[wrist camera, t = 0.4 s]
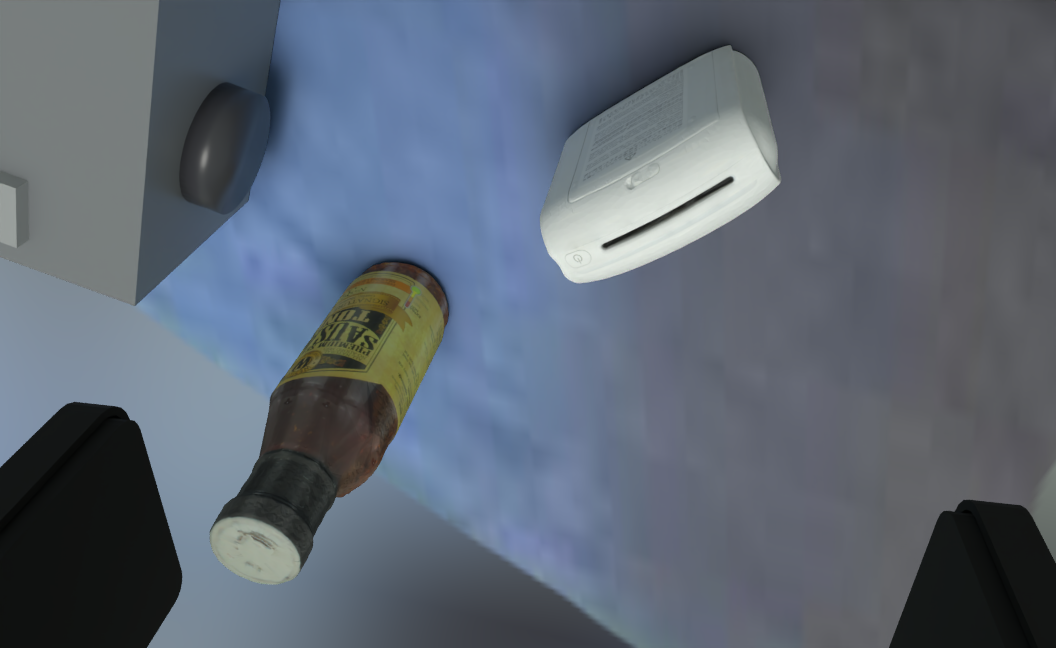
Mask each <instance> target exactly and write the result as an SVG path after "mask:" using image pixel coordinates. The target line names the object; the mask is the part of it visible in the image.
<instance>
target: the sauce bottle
mask: <svg viewBox="0 0 1056 648" xmlns="http://www.w3.org/2000/svg"><path fill="white" fill-rule="evenodd" d="M448 316H449V313H448V304H447V301H446V297H445V294H444V292H443V291H442V289H441V287H440V285H439V284H438V283H437V282H436V281H435V279H434V278H433V277H432V276H431V275H430V274H428V273H427V272H425V271H423V270H422V269H420V268H418V267H416V266H414V265H410V264H405V263H400V262H383V263H381V264H377V265H373V266H372V267H371V268H369V269H367V270H366V271H365V272H364V273H363V274H362V275H361V276H360V277H358V278H356V279H355V280H354V281H353V282H352V283H351V284H350V285H349V286H348V287H347V289H346V290H345V292H344V293H343V295H342V296H341V297H340V299H339V300H338V302H337V303H336V304H335V306H334V307H333V309H332V310H331V311H330V313H329V314H328V316H327V317H326V319H325V320H324V321H323V323H322V324H321V326H320V327H319V328H318V329H317V331H316V332H315V334H314V335H313V337H312V338H311V340H310V341H309V342H308V344H307V345H306V346H305V348H304V349H303V351H302V352H301V353H300V355H299V357H298V358H297V359H296V361H295V362H294V363H293V365H292V366H291V368H290V369H289V371H288V372H287V373H286V375H285V376H284V377H283V378H282V380H281V381H280V383H279V384H278V386H277V387H276V389H275V390H274V391H273V393H272V395H271V397H270V406H269V413H268V418H267V423H266V427H265V432H264V437H263V442H262V447H261V451H260V456H259V459H258V460H257V462H256V463H255V465H254V468H253V470H252V473H251V475H250V477H249V478H248V480H247V481H246V482H245V484H244V485H243V487H242V488H241V490H240V492H239V493H238V495H237V496H236V497H235V498H233V499H231V500H230V501H229V502H228V503H227V504H225V505H224V507H223V509H222V511H221V512H220V514H219V515H218V517H217V519H216V521H215V522H214V524H213V526H212V528H211V530H210V543H211V547H212V550H213V553H214V554H215V555H216V557H217V558H218V560H219V561H220V562H222V564H223V565H224V566H225V567H227V568H228V569H229V570H230V571H232V572H234V573H235V574H237V575H239V576H240V577H244V578H246V579H248V580H250V581H253V582H257V583H261V584H280V583H283V582H286V581H290V580H292V579H294V578H295V577H296V576H297V575H298V574H299V572H300V571H301V569H302V567H303V565H304V563H305V562H306V560H307V558H308V556H309V554H310V552H311V550H312V547H313V537H314V535H315V533H316V531H317V528H318V527H319V525H320V524H321V522H322V520H323V518H324V516H325V514H326V512H327V511H328V510H329V509H330V508H331V507H332V505H333V503H334V500H335V498H336V497H343V496H345V495H346V494H349V493H350V492H351V491H352V490H354V489H356V488H357V487H359V486H360V485H361V484H363V483H364V482H365V481H366V480H367V479H368V478H369V477H370V476H371V475H372V474H373V473H374V471H375V470H376V469H377V467H378V465H379V464H380V462H381V460H382V457H383V455H384V453H385V451H386V449H387V447H388V445H389V444H390V443H391V442H392V440H393V439H394V437H395V435H396V433H397V431H398V429H399V427H400V425H401V423H402V421H403V419H404V417H405V414H406V412H407V410H408V408H409V406H410V404H411V402H412V400H413V398H414V396H415V394H416V392H417V390H418V387H419V385H420V383H421V381H422V379H423V377H424V375H425V373H426V371H427V369H428V367H429V365H430V363H431V361H432V359H433V357H434V355H435V353H436V350H437V348H438V347H439V345H440V343H441V341H442V338H443V332H444V327H445V326H446V324H447V322H448Z"/></svg>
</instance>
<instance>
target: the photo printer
mask: <svg viewBox="0 0 1056 648" xmlns="http://www.w3.org/2000/svg"><path fill="white" fill-rule="evenodd" d="M777 158H778V151H777V143H776V139H775V136H774V132H773V128H772V124H771V120H770V116H769V112H768V107H767V103H766V99H765V95H764V91H763V88H762V84H761V80H760V76H759V73H758V71H757V69H756V67H755V65H754V64H753V63H752V61H751V60H750V59H749V58H747V57H746V56H745V55H743V54H741V53H739V52H737V51H733V49H732V47H731V45H728V46H724V47H721V48H718V49H715V50H713V51H710V52H708V53H706V54H704V55H702V56H700V57H698V58H696V59H694V60H692V61H690V62H689V63H686V64H685V65H683V66H681V67H679V68H677V69H676V70H674V71H672V72H671V73H669V74H667V75H665V76H663V77H662V78H660V79H658V80H657V81H655V82H653V83H651V84H650V85H648V86H646V87H644V88H643V89H641V90H639V91H638V92H636V93H634V94H633V95H631V96H629V97H628V98H626V99H624V100H622V101H621V102H619V103H618V104H616V105H614V106H613V107H611V108H609V109H607V110H606V111H604V112H603V113H601V114H600V115H598V116H596V117H595V118H593V119H592V120H590V121H589V122H587V123H586V124H585V125H583V126H582V127H581V128H579V129H578V130H577V131H576V132H575V133H573V134H572V135H571V136H570V137H569V138H568V139H567V141H566V142H565V144H564V148H563V151H562V153H561V157H560V160H559V163H558V166H557V168H556V171H555V174H554V177H553V180H552V183H551V186H550V189H549V191H548V194H547V197H546V200H545V203H544V206H543V208H542V211H541V215H540V227H541V233H542V236H543V240H544V243H545V246H546V248H547V251H548V253H549V255H550V256H551V257H552V258H553V259H554V260H555V261H556V262H557V264H558V265H559V266H560V268H561V270H562V272H563V274H564V276H565V277H566V278H567V279H569V280H571V281H572V282H575V283H585V282H592V281H598V280H602V279H606V278H609V277H612V276H615V275H619V274H622V273H624V272H627V271H630V270H632V269H635V268H637V267H640V266H642V265H645V264H647V263H649V262H652V261H654V260H656V259H658V258H661V257H663V256H665V255H667V254H669V253H671V252H673V251H675V250H677V249H679V248H681V247H684V246H685V245H687V244H689V243H691V242H693V241H695V240H697V239H699V238H701V237H703V236H705V235H707V234H708V233H710V232H712V231H714V230H715V229H717V228H719V227H721V226H722V225H724V224H726V223H728V222H729V221H731V220H733V219H734V218H736V217H737V216H739V215H741V214H742V213H744V212H745V211H747V210H748V209H750V208H751V207H753V206H754V205H755V204H757V203H758V202H760V201H761V200H762V199H763V198H765V197H766V196H767V195H768V194H769V193H770V192H771V191H773V190H774V189H775V188H776V187H777V186H778V185H779V184H780V182H781V177H780V172H779V168H778V164H777Z"/></svg>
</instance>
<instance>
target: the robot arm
mask: <svg viewBox="0 0 1056 648" xmlns="http://www.w3.org/2000/svg"><path fill="white" fill-rule="evenodd" d="M181 584H182V571H181V567H180V564H179V560H178V557H177V553H176V550H175V546H174V543H173V540H172V536H171V533H170V529H169V526H168V523H167V519H166V516H165V513H164V509H163V505H162V502H161V499H160V495H159V492H158V488H157V485H156V481H155V478H154V475H153V471H152V468H151V464H150V461H149V457H148V454H147V451H146V447H145V444H144V441H143V437H142V434H141V430H140V428H139V426H138V424H137V423H136V422H135V421H132V420H130V419H129V417H128V415H127V413H126V412H125V411H124V410H123V409H122V408H120V407H115V406H107V405H98V404H88V403H80V402H73V403H69V404H67V405H65V406H64V407H62V408H61V409H60V410H59V411H58V412H57V413H56V414H55V415H54V416H53V417H52V418H51V419H50V420H48V421H47V422H46V423H45V424H44V425H43V426H42V427H41V428H40V429H39V430H38V431H37V432H36V433H35V434H34V435H33V436H32V437H31V438H30V439H29V440H28V441H27V442H26V443H25V444H24V445H23V446H22V447H21V448H20V449H19V450H18V451H17V452H16V453H15V454H14V455H13V456H12V457H11V458H10V459H9V460H7V461H6V463H4V464H3V466H1V468H0V648H147V647H148V645H149V643H150V642H151V640H152V639H153V637H154V635H155V634H156V632H157V631H158V629H159V627H160V626H161V624H162V623H163V621H164V619H165V618H166V616H167V615H168V613H169V612H170V610H171V608H172V607H173V605H174V604H175V602H176V600H177V598H178V595H179V592H180V589H181ZM889 648H1056V563H1055V561H1054V559H1053V557H1052V555H1051V553H1050V551H1049V549H1048V548H1047V545H1046V543H1045V541H1044V539H1043V537H1042V536H1041V534H1040V532H1039V530H1038V528H1037V526H1036V524H1035V522H1034V520H1033V518H1032V516H1031V515H1030V513H1029V512H1028V510H1027V509H1026V508H1024V507H1022V506H1021V505H1012V504H1003V503H994V502H985V501H975V500H963V501H962V502H961V503H960V504H959V505H958V507H957V509H956V511H955V512H952V511H943V512H942V513H941V514H940V516H939V518H938V520H937V522H936V525H935V528H934V530H933V533H932V536H931V538H930V541H929V544H928V546H927V549H926V551H925V554H924V557H923V559H922V562H921V565H920V567H919V570H918V573H917V575H916V578H915V580H914V583H913V586H912V588H911V591H910V594H909V596H908V599H907V602H906V604H905V607H904V610H903V612H902V615H901V617H900V620H899V623H898V625H897V628H896V631H895V633H894V636H893V639H892V641H891V644H890V646H889Z"/></svg>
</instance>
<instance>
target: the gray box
mask: <svg viewBox="0 0 1056 648" xmlns="http://www.w3.org/2000/svg"><path fill="white" fill-rule="evenodd" d="M279 5H280V0H0V257H2V258H4V259H7V260H10V261H12V262H15V263H18V264H21V265H23V266H26V267H29V268H32V269H34V270H37V271H40V272H43V273H45V274H48V275H51V276H54V277H56V278H59V279H62V280H65V281H68V282H70V283H73V284H76V285H78V286H81V287H84V288H86V289H89V290H92V291H95V292H97V293H101V294H103V295H106V296H108V297H112V298H114V299H117V300H119V301H122V302H125V303H128V304H130V305H133V306H136V305H137V304H138V303H139V302H140V301H141V300H142V299H143V298H144V297H145V296H146V295H147V294H148V293H150V292H151V291H152V290H153V289H154V288H155V287H156V286H157V285H158V284H159V283H160V282H161V281H162V280H164V279H165V278H166V277H167V276H168V275H169V274H170V273H171V272H172V271H173V270H174V269H175V268H176V267H178V266H179V265H180V264H181V263H182V262H183V261H184V260H185V259H186V258H187V257H188V256H189V255H190V254H192V253H193V252H194V251H195V250H196V249H197V248H198V247H199V246H200V245H201V244H202V243H203V242H204V241H206V240H207V239H208V238H209V237H210V236H211V235H212V234H213V233H214V232H215V231H216V230H217V229H218V228H220V227H221V226H222V225H223V224H224V223H225V222H226V221H227V220H228V219H229V218H230V217H231V216H232V215H234V214H235V213H236V212H237V211H238V210H239V209H240V208H241V207H242V206H243V205H244V204H245V203H247V202H248V199H249V193H250V188H251V186H252V184H253V182H254V180H255V178H256V176H257V173H258V171H259V168H260V166H261V163H262V160H263V157H264V154H265V150H266V146H267V142H268V137H269V130H270V106H269V103H268V100H267V99H266V97H265V93H266V87H267V80H268V74H269V68H270V61H271V55H272V49H273V43H274V36H275V30H276V24H277V18H278V11H279Z"/></svg>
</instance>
